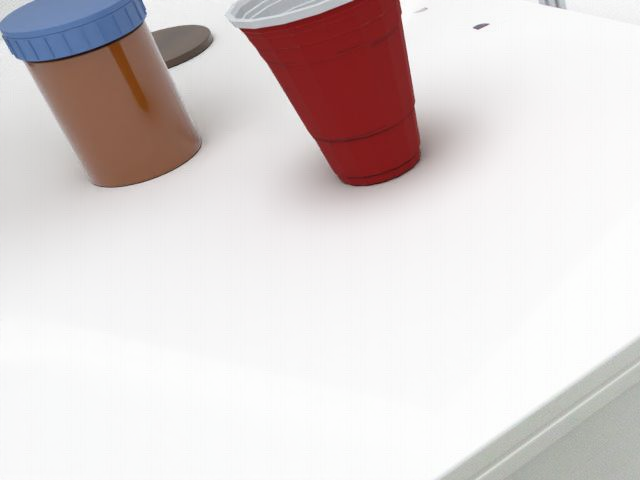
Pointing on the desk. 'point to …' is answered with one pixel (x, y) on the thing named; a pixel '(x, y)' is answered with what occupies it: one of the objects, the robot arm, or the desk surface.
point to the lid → (68, 26)
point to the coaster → (181, 42)
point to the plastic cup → (342, 78)
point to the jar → (119, 109)
